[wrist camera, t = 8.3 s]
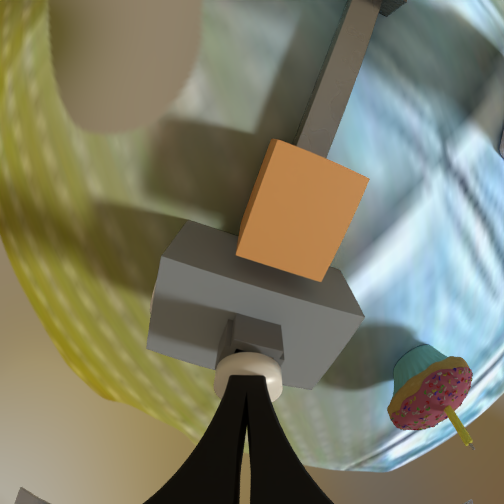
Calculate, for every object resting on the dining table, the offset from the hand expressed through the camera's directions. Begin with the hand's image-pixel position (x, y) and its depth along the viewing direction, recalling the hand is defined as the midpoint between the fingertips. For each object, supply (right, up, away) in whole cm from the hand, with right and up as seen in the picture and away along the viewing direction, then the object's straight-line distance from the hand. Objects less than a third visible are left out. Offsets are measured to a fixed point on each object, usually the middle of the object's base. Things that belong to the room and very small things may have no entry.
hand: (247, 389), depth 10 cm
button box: (0, +3, +7) cm, 8 cm away
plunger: (0, +1, +2) cm, 3 cm away
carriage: (+2, +9, +5) cm, 10 cm away
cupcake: (+16, -5, +11) cm, 20 cm away
